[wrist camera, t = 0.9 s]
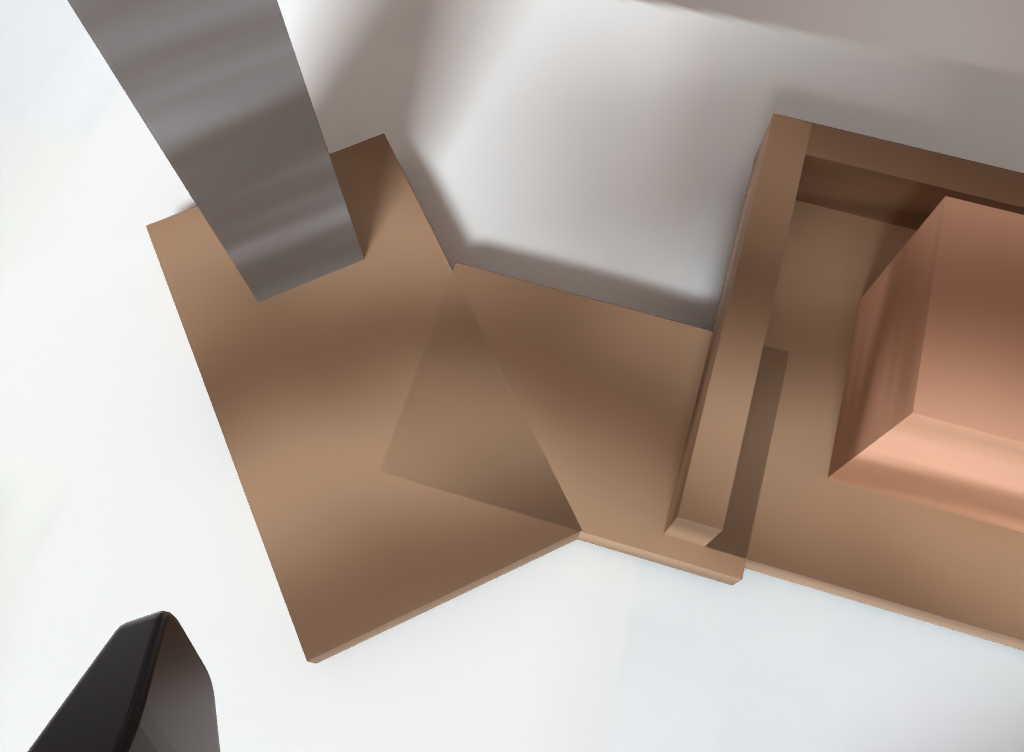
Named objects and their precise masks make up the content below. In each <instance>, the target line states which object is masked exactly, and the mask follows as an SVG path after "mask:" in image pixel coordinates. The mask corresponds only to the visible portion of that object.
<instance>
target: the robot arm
mask: <svg viewBox="0 0 1024 752" xmlns="http://www.w3.org/2000/svg"><path fill="white" fill-rule="evenodd" d="M28 752H220V746H219V736H218V726H217V716H216V707H215V697H214V691H213V686H212V682H211V679H210V676H209V674H208V671H207V669H206V667H205V666H204V664H203V662H202V661H201V659H200V657H199V655H198V654H197V652H196V650H195V649H194V647H193V645H192V644H191V642H190V640H189V638H188V637H187V635H186V633H185V632H184V630H183V628H182V627H181V625H180V623H179V622H178V620H177V619H176V618H175V617H174V616H173V615H172V614H171V613H170V612H166V611H160V612H157V613H154V614H151V615H148V616H145V617H142V618H139V619H136V620H133V621H130V622H127V623H125V624H123V625H121V626H120V627H119V628H118V629H117V630H116V631H115V633H114V634H113V635H112V637H111V638H110V639H109V641H108V642H107V644H106V645H105V646H104V648H103V649H102V650H101V652H100V653H99V655H98V656H97V657H96V659H95V660H94V661H93V663H92V664H91V666H90V667H89V668H88V670H87V671H86V672H85V674H84V675H83V677H82V678H81V679H80V681H79V682H78V683H77V685H76V686H75V687H74V689H73V690H72V692H71V693H70V694H69V696H68V697H67V698H66V700H65V701H64V703H63V704H62V705H61V707H60V708H59V709H58V711H57V712H56V714H55V715H54V716H53V718H52V719H51V720H50V722H49V723H48V725H47V726H46V727H45V729H44V730H43V731H42V733H41V734H40V736H39V737H38V738H37V740H36V741H35V742H34V744H33V745H32V746H31V748H30V749H29V751H28Z"/></svg>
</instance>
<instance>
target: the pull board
mask: <svg viewBox="0 0 1024 752" xmlns="http://www.w3.org/2000/svg"><path fill="white" fill-rule="evenodd" d="M68 2H69V3H70V5H71V7H72V8H73V10H74V11H75V13H76V15H77V16H78V18H79V19H80V21H81V22H82V24H83V26H84V27H85V29H86V30H87V32H88V34H89V35H90V37H91V38H92V40H93V41H94V43H95V45H96V46H97V48H98V49H99V51H100V53H101V54H102V56H103V57H104V59H105V60H106V62H107V64H108V65H109V67H110V68H111V70H112V72H113V73H114V75H115V76H116V78H117V79H118V81H119V83H120V84H121V86H122V87H123V89H124V91H125V92H126V94H127V95H128V97H129V98H130V100H131V102H132V103H133V105H134V106H135V108H136V110H137V111H138V113H139V114H140V116H141V118H142V119H143V121H144V122H145V124H146V125H147V127H148V129H149V130H150V132H151V133H152V135H153V137H154V138H155V140H156V141H157V143H158V144H159V146H160V148H161V149H162V151H163V152H164V154H165V156H166V157H167V159H168V160H169V162H170V163H171V165H172V167H173V168H174V170H175V171H176V173H177V175H178V176H179V178H180V179H181V181H182V182H183V184H184V186H185V187H186V189H187V190H188V192H189V194H190V195H191V197H192V198H193V200H194V201H195V203H196V205H197V206H196V207H193V208H191V209H188V210H186V211H183V212H181V213H178V214H175V215H173V216H170V217H168V218H165V219H163V220H160V221H157V222H155V223H152V224H150V225H147V226H146V227H147V230H148V233H149V235H150V238H151V241H152V243H153V246H154V249H155V251H156V254H157V257H158V260H159V262H160V265H161V268H162V270H163V273H164V276H165V279H166V281H167V284H168V287H169V289H170V292H171V295H172V297H173V300H174V303H175V306H176V308H177V311H178V314H179V316H180V319H181V322H182V324H183V327H184V330H185V333H186V335H187V338H188V341H189V343H190V346H191V349H192V351H193V354H194V357H195V360H196V362H197V365H198V368H199V370H200V373H201V376H202V378H203V381H204V384H205V387H206V389H207V392H208V395H209V397H210V400H211V403H212V406H213V408H214V411H215V414H216V416H217V419H218V422H219V424H220V427H221V430H222V433H223V435H224V438H225V441H226V443H227V446H228V449H229V451H230V454H231V457H232V460H233V462H234V465H235V468H236V470H237V473H238V476H239V478H240V481H241V484H242V487H243V489H244V492H245V495H246V497H247V500H248V503H249V505H250V508H251V511H252V514H253V516H254V519H255V522H256V524H257V527H258V530H259V532H260V535H261V538H262V541H263V543H264V546H265V549H266V551H267V554H268V557H269V560H270V562H271V565H272V568H273V570H274V573H275V576H276V578H277V581H278V584H279V587H280V589H281V592H282V595H283V597H284V600H285V603H286V605H287V608H288V611H289V614H290V616H291V619H292V622H293V624H294V627H295V630H296V632H297V635H298V638H299V641H300V643H301V646H302V649H303V651H304V654H305V657H306V659H307V661H308V662H312V663H319V662H321V661H323V660H325V659H327V658H329V657H331V656H333V655H335V654H337V653H339V652H342V651H344V650H346V649H348V648H350V647H352V646H354V645H356V644H358V643H360V642H363V641H365V640H367V639H369V638H371V637H373V636H375V635H377V634H379V633H381V632H384V631H386V630H388V629H390V628H392V627H394V626H396V625H398V624H400V623H402V622H405V621H407V620H409V619H411V618H413V617H415V616H417V615H419V614H421V613H423V612H426V611H428V610H430V609H432V608H434V607H436V606H438V605H440V604H442V603H444V602H446V601H449V600H451V599H453V598H455V597H457V596H459V595H461V594H463V593H465V592H467V591H470V590H472V589H474V588H476V587H478V586H480V585H482V584H484V583H486V582H488V581H491V580H493V579H495V578H497V577H499V576H501V575H503V574H505V573H507V572H509V571H512V570H514V569H516V568H518V567H520V566H522V565H524V564H526V563H528V562H530V561H532V560H535V559H537V558H539V557H541V556H543V555H545V554H547V553H549V552H551V551H553V550H556V549H558V548H560V547H562V546H564V545H566V544H568V543H570V542H572V541H574V540H577V539H579V540H583V541H586V542H589V543H593V544H596V545H599V546H603V547H606V548H609V549H613V550H616V551H619V552H623V553H626V554H629V555H633V556H636V557H639V558H643V559H646V560H650V561H653V562H656V563H660V564H663V565H666V566H670V567H673V568H676V569H680V570H683V571H686V572H690V573H693V574H696V575H700V576H703V577H706V578H710V579H713V580H716V581H720V582H723V583H726V584H730V585H734V584H735V583H737V582H739V581H740V580H742V577H743V572H744V568H747V569H750V570H754V571H757V572H760V573H764V574H767V575H770V576H774V577H777V578H781V579H784V580H787V581H791V582H794V583H797V584H801V585H804V586H808V587H811V588H814V589H818V590H821V591H824V592H828V593H831V594H835V595H838V596H841V597H845V598H848V599H851V600H855V601H858V602H862V603H865V604H868V605H872V606H875V607H878V608H882V609H885V610H889V611H892V612H895V613H899V614H902V615H905V616H909V617H912V618H916V619H919V620H922V621H926V622H929V623H932V624H936V625H939V626H943V627H946V628H949V629H953V630H956V631H959V632H963V633H966V634H970V635H973V636H976V637H980V638H983V639H986V640H990V641H993V642H997V643H1000V644H1003V645H1007V646H1010V647H1013V648H1017V649H1020V650H1024V533H1022V532H1018V531H1015V530H1011V529H1008V528H1004V527H1001V526H997V525H994V524H990V523H987V522H983V521H979V520H976V519H972V518H969V517H965V516H962V515H958V514H955V513H951V512H948V511H944V510H941V509H937V508H933V507H930V506H926V505H923V504H919V503H916V502H912V501H909V500H905V499H902V498H898V497H894V496H891V495H887V494H884V493H880V492H877V491H873V490H870V489H866V488H863V487H859V486H855V485H852V484H848V483H845V482H841V481H838V480H834V479H831V478H828V473H829V467H830V462H831V456H832V451H833V445H834V440H835V434H836V429H837V423H838V418H839V412H840V407H841V401H842V396H843V390H844V385H845V379H846V374H847V368H848V363H849V358H850V352H851V347H852V341H853V336H854V330H855V325H856V319H857V314H858V308H859V303H860V299H861V298H862V297H863V295H864V294H865V293H866V292H867V291H868V289H869V288H870V287H871V286H872V284H873V283H874V282H875V281H876V280H877V278H878V277H879V276H880V275H881V274H882V272H883V271H884V270H885V269H886V268H887V266H888V265H889V264H890V263H891V261H892V260H893V259H894V258H895V257H896V255H897V254H898V253H899V252H900V251H901V249H902V248H903V247H904V246H905V245H906V243H907V242H908V241H909V240H910V238H911V237H912V236H913V235H914V234H915V232H916V231H917V230H918V229H919V228H920V226H921V225H922V224H923V223H924V222H925V220H926V219H927V218H928V217H929V216H930V214H931V213H932V212H933V211H934V209H935V208H936V207H937V206H938V205H939V203H940V202H941V201H942V200H943V199H944V197H945V196H948V197H952V198H956V199H960V200H964V201H968V202H972V203H976V204H980V205H984V206H988V207H993V208H997V209H1001V210H1005V211H1009V212H1013V213H1017V214H1021V215H1024V173H1020V172H1016V171H1011V170H1007V169H1003V168H999V167H995V166H990V165H986V164H982V163H978V162H974V161H970V160H965V159H961V158H957V157H953V156H949V155H945V154H940V153H936V152H932V151H928V150H924V149H920V148H915V147H911V146H907V145H903V144H899V143H894V142H890V141H886V140H882V139H878V138H874V137H869V136H865V135H861V134H857V133H853V132H849V131H844V130H840V129H836V128H832V127H828V126H824V125H819V124H815V123H811V122H807V121H803V120H799V119H794V118H790V117H786V116H782V115H778V114H774V115H773V117H772V119H771V122H770V124H769V126H768V129H767V131H766V133H765V136H764V138H763V140H762V143H761V145H760V147H759V150H758V152H757V154H756V157H755V160H754V164H753V168H752V172H751V176H750V180H749V184H748V188H747V193H746V197H745V201H744V205H743V209H742V213H741V217H740V221H739V225H738V230H737V234H736V238H735V242H734V246H733V250H732V254H731V258H730V262H729V267H728V271H727V275H726V279H725V283H724V287H723V291H722V295H721V300H720V304H719V308H718V312H717V316H716V320H715V324H714V328H713V331H709V330H706V329H702V328H698V327H694V326H691V325H687V324H683V323H680V322H676V321H672V320H668V319H665V318H661V317H657V316H653V315H650V314H646V313H642V312H639V311H635V310H631V309H627V308H624V307H620V306H616V305H612V304H609V303H605V302H601V301H598V300H594V299H590V298H586V297H583V296H579V295H575V294H571V293H568V292H564V291H560V290H557V289H553V288H549V287H545V286H542V285H538V284H534V283H530V282H527V281H523V280H519V279H516V278H512V277H508V276H504V275H501V274H497V273H493V272H489V271H486V270H482V269H478V268H475V267H471V266H467V265H463V264H460V263H455V266H454V269H453V271H452V269H451V267H450V265H449V263H448V261H447V259H446V257H445V255H444V253H443V251H442V249H441V247H440V245H439V243H438V241H437V239H436V237H435V235H434V233H433V231H432V229H431V227H430V225H429V223H428V221H427V219H426V217H425V215H424V213H423V211H422V209H421V207H420V205H419V203H418V201H417V199H416V197H415V195H414V193H413V191H412V189H411V187H410V185H409V183H408V181H407V179H406V177H405V175H404V173H403V171H402V169H401V167H400V165H399V163H398V161H397V159H396V157H395V155H394V153H393V151H392V149H391V147H390V145H389V143H388V141H387V139H386V137H385V135H384V134H381V135H379V136H376V137H373V138H371V139H368V140H366V141H363V142H361V143H358V144H355V145H353V146H350V147H348V148H345V149H343V150H340V151H337V152H335V153H332V154H330V155H329V153H328V150H327V147H326V144H325V141H324V138H323V135H322V132H321V130H320V127H319V124H318V121H317V118H316V115H315V112H314V109H313V106H312V103H311V100H310V97H309V94H308V91H307V88H306V85H305V82H304V79H303V76H302V73H301V70H300V67H299V64H298V61H297V58H296V55H295V52H294V50H293V47H292V44H291V41H290V38H289V35H288V32H287V29H286V26H285V23H284V20H283V17H282V14H281V11H280V8H279V5H278V2H277V0H68Z"/></svg>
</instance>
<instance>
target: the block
mask: <svg viewBox="0 0 1024 752" xmlns="http://www.w3.org/2000/svg"><path fill="white" fill-rule="evenodd" d="M828 478H831V479H834V480H838V481H841V482H845V483H848V484H852V485H855V486H859V487H863V488H866V489H870V490H873V491H877V492H880V493H884V494H887V495H891V496H894V497H898V498H902V499H905V500H909V501H912V502H916V503H919V504H923V505H926V506H930V507H933V508H937V509H941V510H944V511H948V512H951V513H955V514H958V515H962V516H965V517H969V518H972V519H976V520H979V521H983V522H987V523H990V524H994V525H997V526H1001V527H1004V528H1008V529H1011V530H1015V531H1018V532H1022V533H1024V215H1021V214H1017V213H1013V212H1009V211H1005V210H1001V209H997V208H993V207H988V206H984V205H980V204H976V203H972V202H968V201H964V200H960V199H956V198H952V197H948V196H945V197H944V199H943V200H942V201H941V202H940V203H939V205H938V206H937V207H936V208H935V209H934V211H933V212H932V213H931V214H930V216H929V217H928V218H927V219H926V220H925V222H924V223H923V224H922V225H921V226H920V228H919V229H918V230H917V231H916V232H915V234H914V235H913V236H912V237H911V238H910V240H909V241H908V242H907V243H906V245H905V246H904V247H903V248H902V249H901V251H900V252H899V253H898V254H897V255H896V257H895V258H894V259H893V260H892V261H891V263H890V264H889V265H888V266H887V268H886V269H885V270H884V271H883V272H882V274H881V275H880V276H879V277H878V278H877V280H876V281H875V282H874V283H873V284H872V286H871V287H870V288H869V289H868V291H867V292H866V293H865V294H864V295H863V297H862V298H861V299H860V303H859V308H858V314H857V319H856V325H855V330H854V336H853V341H852V347H851V352H850V358H849V363H848V368H847V374H846V379H845V385H844V390H843V396H842V401H841V407H840V412H839V418H838V423H837V429H836V434H835V440H834V445H833V451H832V456H831V462H830V467H829V473H828Z"/></svg>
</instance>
